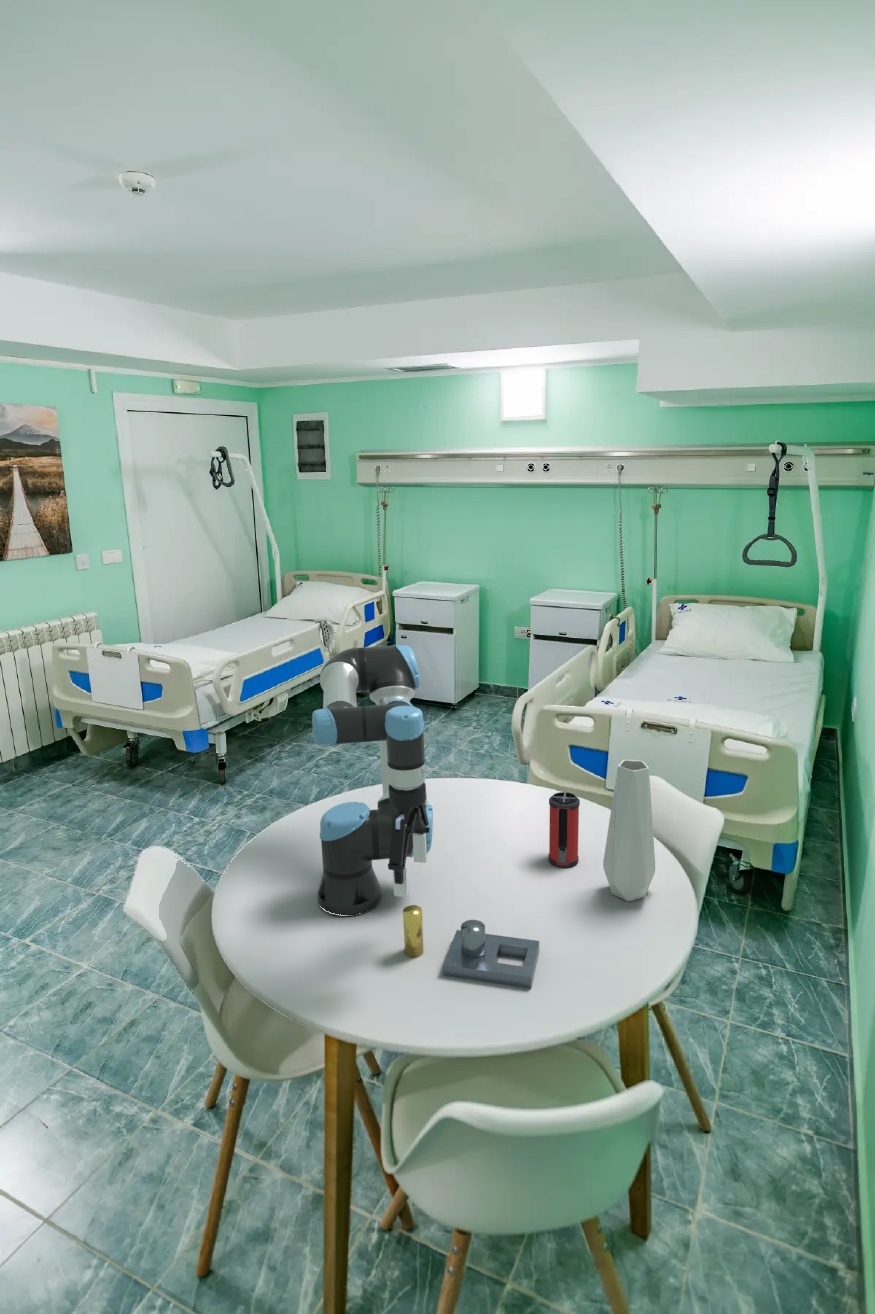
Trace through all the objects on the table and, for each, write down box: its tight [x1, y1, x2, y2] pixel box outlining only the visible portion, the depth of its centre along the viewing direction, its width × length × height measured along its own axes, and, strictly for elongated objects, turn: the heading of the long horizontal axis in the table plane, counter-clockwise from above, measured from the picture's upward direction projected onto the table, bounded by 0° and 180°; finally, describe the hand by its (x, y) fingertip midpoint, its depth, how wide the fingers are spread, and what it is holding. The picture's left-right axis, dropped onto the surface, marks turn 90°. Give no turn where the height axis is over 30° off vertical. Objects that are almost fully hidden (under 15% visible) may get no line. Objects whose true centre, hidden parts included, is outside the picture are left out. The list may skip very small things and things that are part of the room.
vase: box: [602, 759, 656, 902], centre depth 177 cm, size 12×12×33 cm
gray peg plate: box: [442, 919, 540, 989], centre depth 156 cm, size 18×12×8 cm, turn 75°
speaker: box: [548, 791, 581, 868], centre depth 194 cm, size 8×8×18 cm
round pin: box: [402, 904, 425, 959], centre depth 160 cm, size 4×4×10 cm
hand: (411, 878), depth 157 cm, fingers open, 13 cm apart
